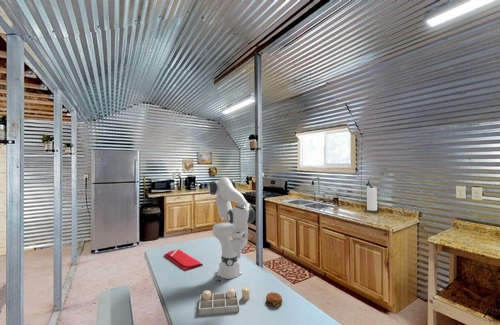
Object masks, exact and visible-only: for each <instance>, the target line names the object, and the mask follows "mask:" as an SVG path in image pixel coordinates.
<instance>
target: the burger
mask: <svg viewBox="0 0 500 325" xmlns="http://www.w3.org/2000/svg"><path fill="white" fill-rule="evenodd" d="M282 297H283V296H282V295H281V294H280V293H278V292H268V293H267V294H266V296H265V302H266V303H267V304H268V305H269V306H270V307H275V308H278V307H281V306H282V303H283V298H282Z"/></svg>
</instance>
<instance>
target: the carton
mask: <svg viewBox="0 0 500 325" xmlns="http://www.w3.org/2000/svg"><path fill="white" fill-rule="evenodd" d="M199 296H200V297H199V304H198V316H204V315H213V314H215V315H216V314H227V313H236V312H237V313H239V312H240V302H239V301H240V300H239V297H238V291H235V298H234V299H227V292H215V293H211V300H209V301H203V293H202V294H201V293H200V295H199Z"/></svg>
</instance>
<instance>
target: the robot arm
mask: <svg viewBox="0 0 500 325" xmlns="http://www.w3.org/2000/svg"><path fill="white" fill-rule="evenodd" d="M207 191H208V193H209V194H210V195H213V196H216V200H215V201H216V208H217V212H218V216H219V217H220V219H223V220H225V221H223V222H218V223H214V225H213V226H212V230H211V231H212V235H213V236H214V237H215V238H216V239H217V240H218V241H219V242H220V245H221V257H220V259H221V261H220V262H219V263H218V267H219V268H218V270H217V272H216V276H218V277H220V278H223V279H235V278H237V277H239V276H241V275H242V274H243V272H242V270H241V267H240V266H241V265H240V262H239V261H238V259H241V253H242V254H243V253H244V254H245V251H246V245H247V243H248V241H249V240H248V236H249V226H248V224H252V223H253V222H254V221H255V220H256V218H257V217H256V215H257V214H256V211H255V209H254V208H253V207H252V206H251V205H250V203H249V202H248V200H246V198H245V197H244V195H243V194H242V192H240V191H238V190H237V182H236V181H235V179H233V178H228V177H227V176H222V177H220V178H219V179H218V180H215V181H214V180H213V181H210V182H209V183H208V185H207ZM231 202H233V203H237V204H235V205H234V206H232V203H231ZM230 238H231V239H232V240H231V239H230Z"/></svg>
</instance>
